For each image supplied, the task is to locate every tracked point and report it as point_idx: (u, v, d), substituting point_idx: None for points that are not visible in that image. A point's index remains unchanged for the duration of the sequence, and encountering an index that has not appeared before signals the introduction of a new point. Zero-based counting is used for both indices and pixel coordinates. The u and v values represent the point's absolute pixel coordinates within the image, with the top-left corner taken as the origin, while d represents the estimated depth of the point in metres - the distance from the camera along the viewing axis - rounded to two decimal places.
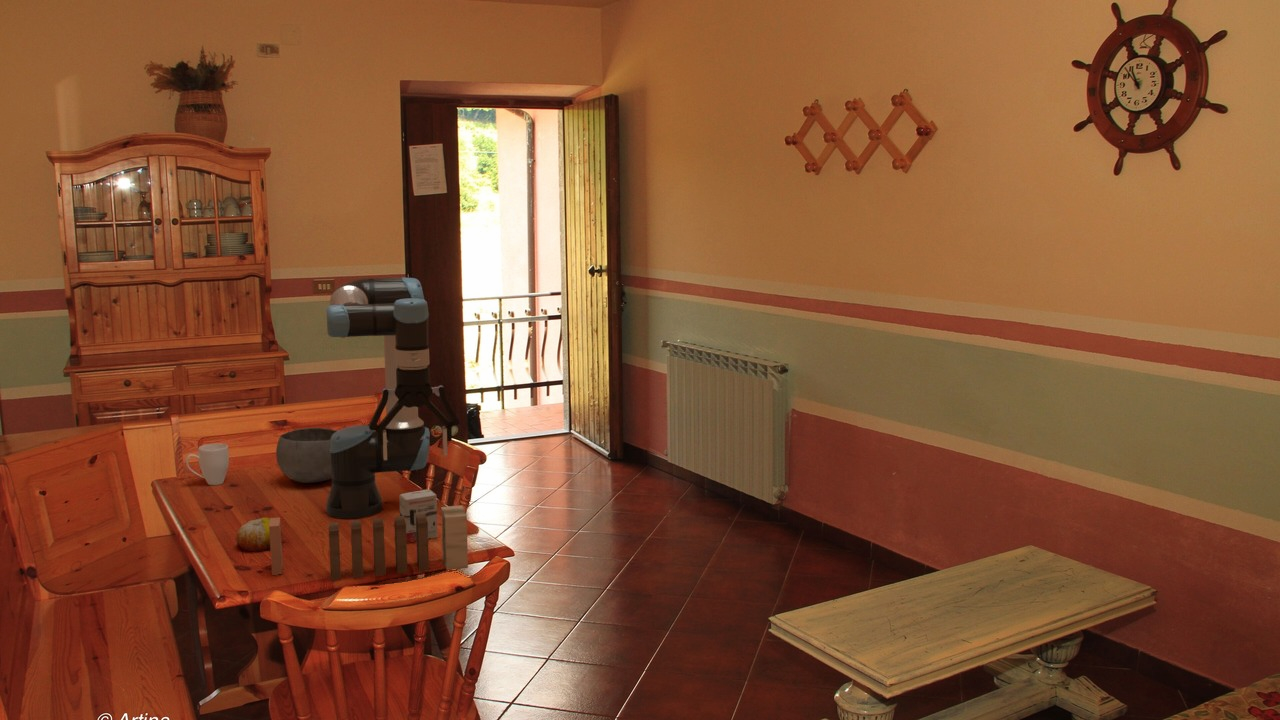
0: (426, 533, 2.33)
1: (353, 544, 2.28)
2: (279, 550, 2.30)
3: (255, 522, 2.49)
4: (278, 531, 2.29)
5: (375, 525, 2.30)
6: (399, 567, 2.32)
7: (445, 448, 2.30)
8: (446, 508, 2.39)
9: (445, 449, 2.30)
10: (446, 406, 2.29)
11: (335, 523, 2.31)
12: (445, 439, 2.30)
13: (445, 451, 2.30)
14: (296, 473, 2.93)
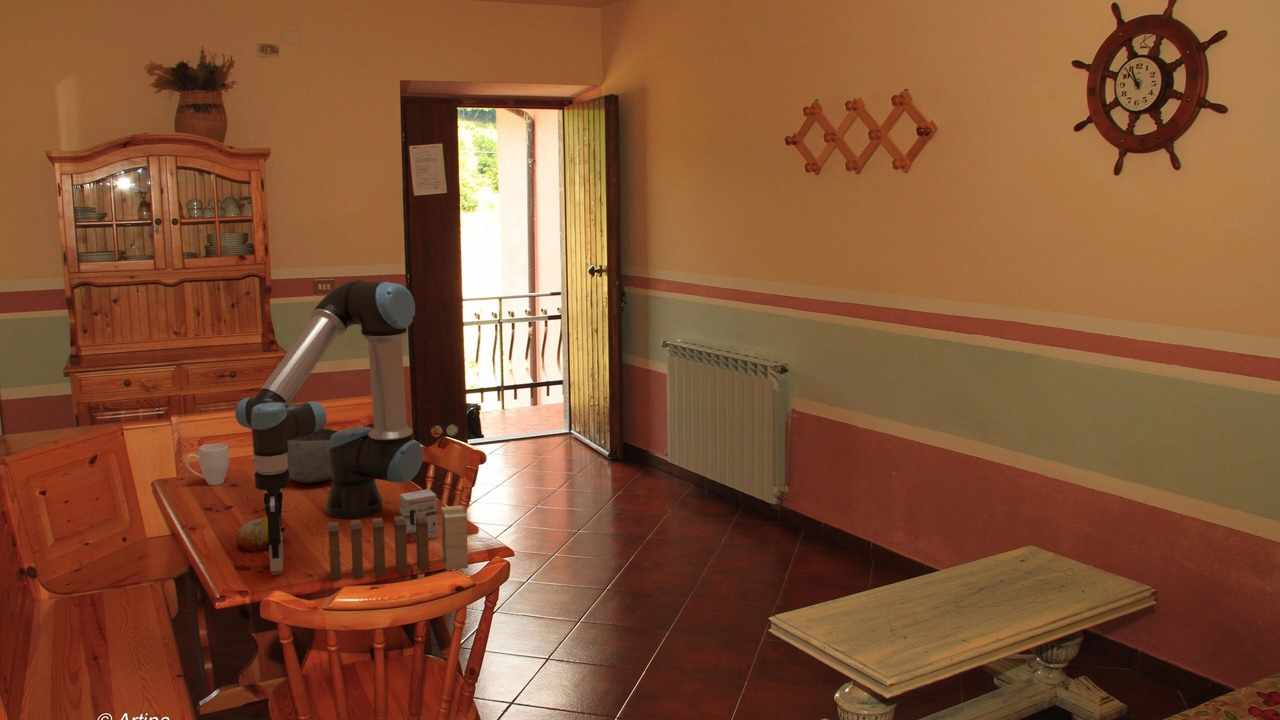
0: (426, 533, 2.33)
1: (353, 544, 2.28)
2: None
3: (255, 522, 2.49)
4: None
5: (375, 525, 2.30)
6: (399, 567, 2.32)
7: (270, 563, 2.29)
8: (446, 508, 2.39)
9: (270, 564, 2.29)
10: None
11: (335, 523, 2.31)
12: None
13: (270, 566, 2.29)
14: (296, 473, 2.93)
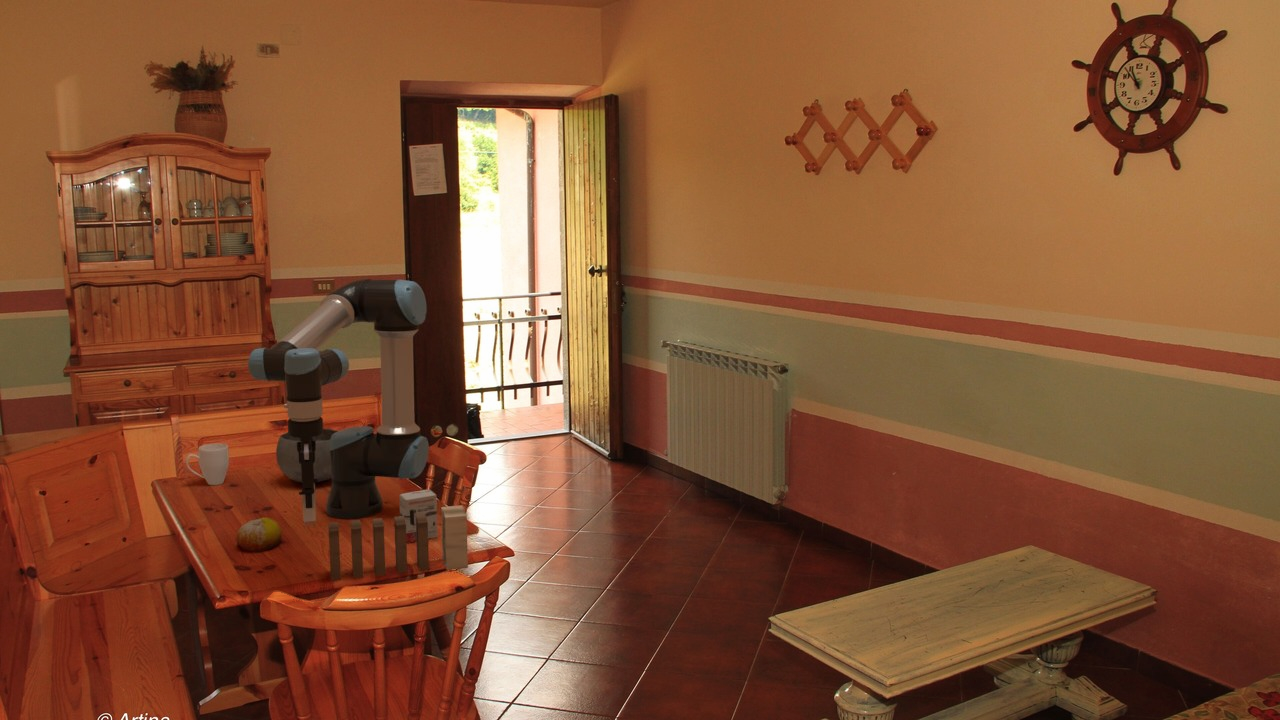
0: (426, 533, 2.33)
1: (353, 544, 2.28)
2: None
3: (255, 522, 2.49)
4: None
5: (375, 525, 2.30)
6: (399, 567, 2.32)
7: (303, 513, 2.23)
8: (446, 508, 2.39)
9: (303, 514, 2.23)
10: None
11: (335, 523, 2.31)
12: None
13: (303, 516, 2.23)
14: (296, 473, 2.93)
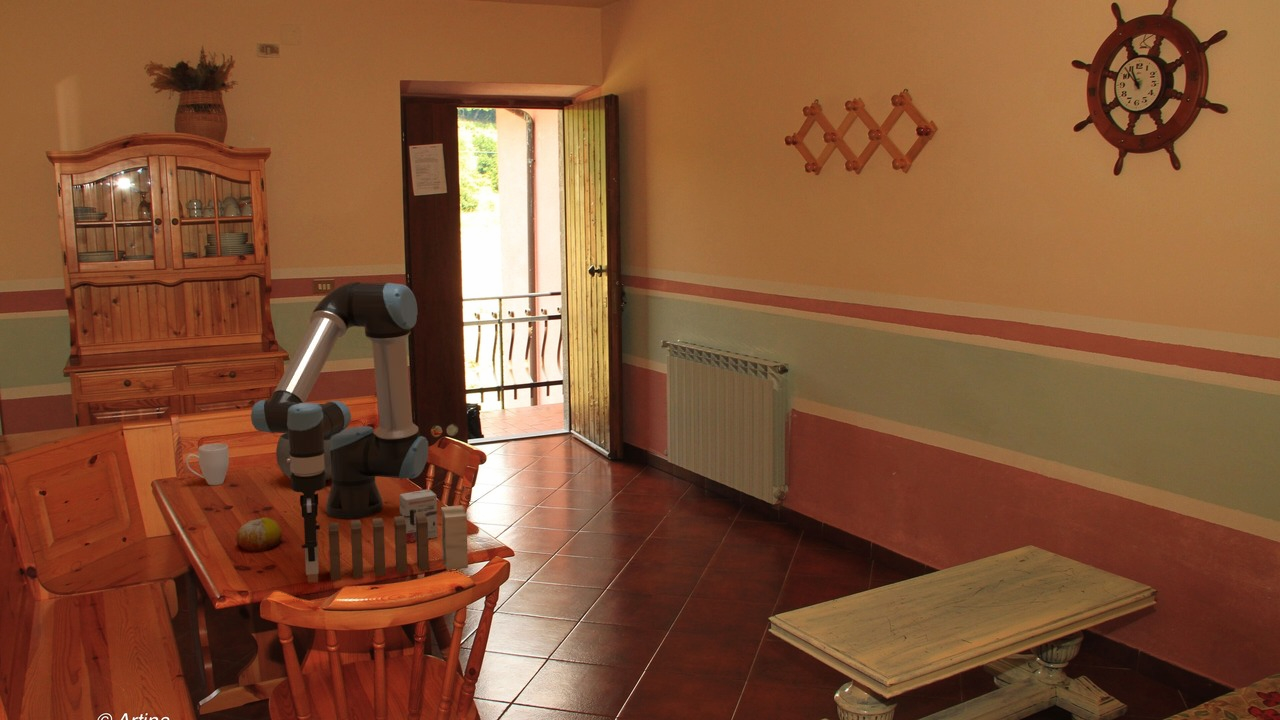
0: (426, 533, 2.33)
1: (353, 544, 2.28)
2: None
3: (255, 522, 2.49)
4: None
5: (375, 525, 2.30)
6: (399, 567, 2.32)
7: None
8: (446, 508, 2.39)
9: None
10: (304, 524, 2.20)
11: (335, 523, 2.31)
12: (305, 557, 2.23)
13: None
14: None
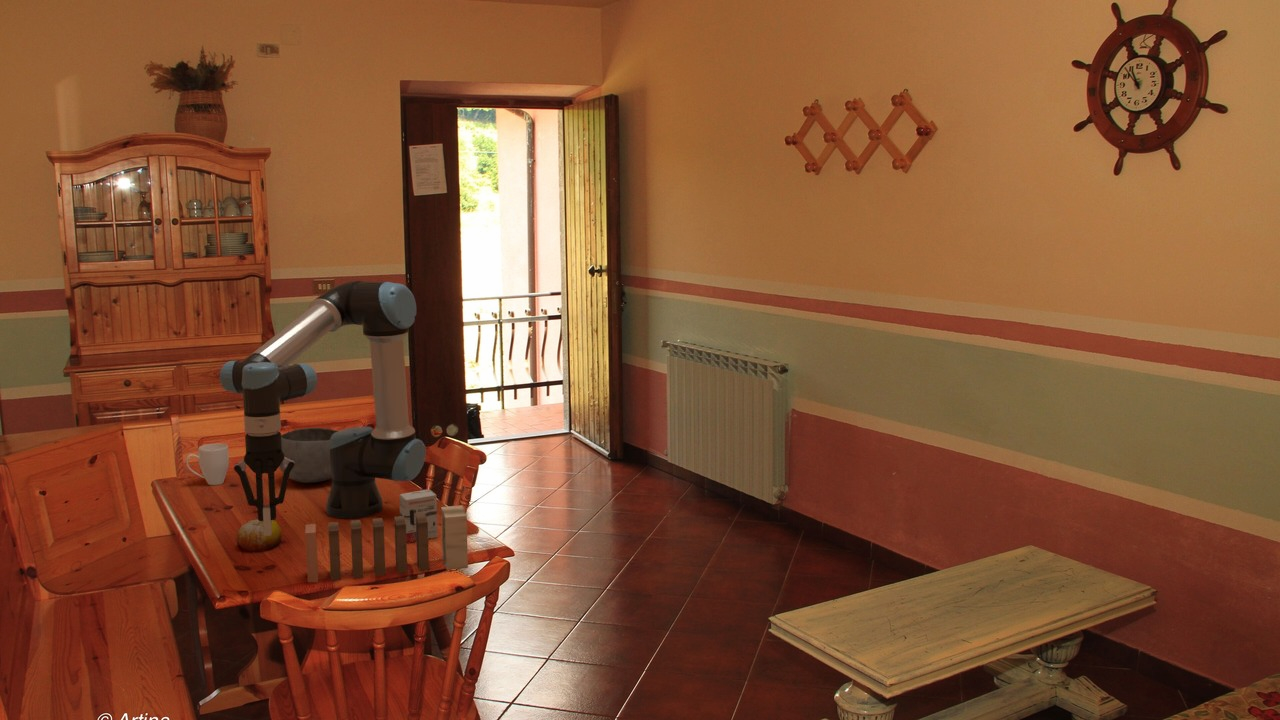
0: (426, 533, 2.33)
1: (353, 544, 2.28)
2: (315, 557, 2.26)
3: (255, 522, 2.49)
4: (314, 538, 2.25)
5: (375, 525, 2.30)
6: (399, 567, 2.32)
7: (268, 527, 2.23)
8: (446, 508, 2.39)
9: (268, 528, 2.23)
10: (283, 481, 2.22)
11: (335, 523, 2.31)
12: (268, 518, 2.22)
13: (268, 531, 2.23)
14: (296, 473, 2.93)
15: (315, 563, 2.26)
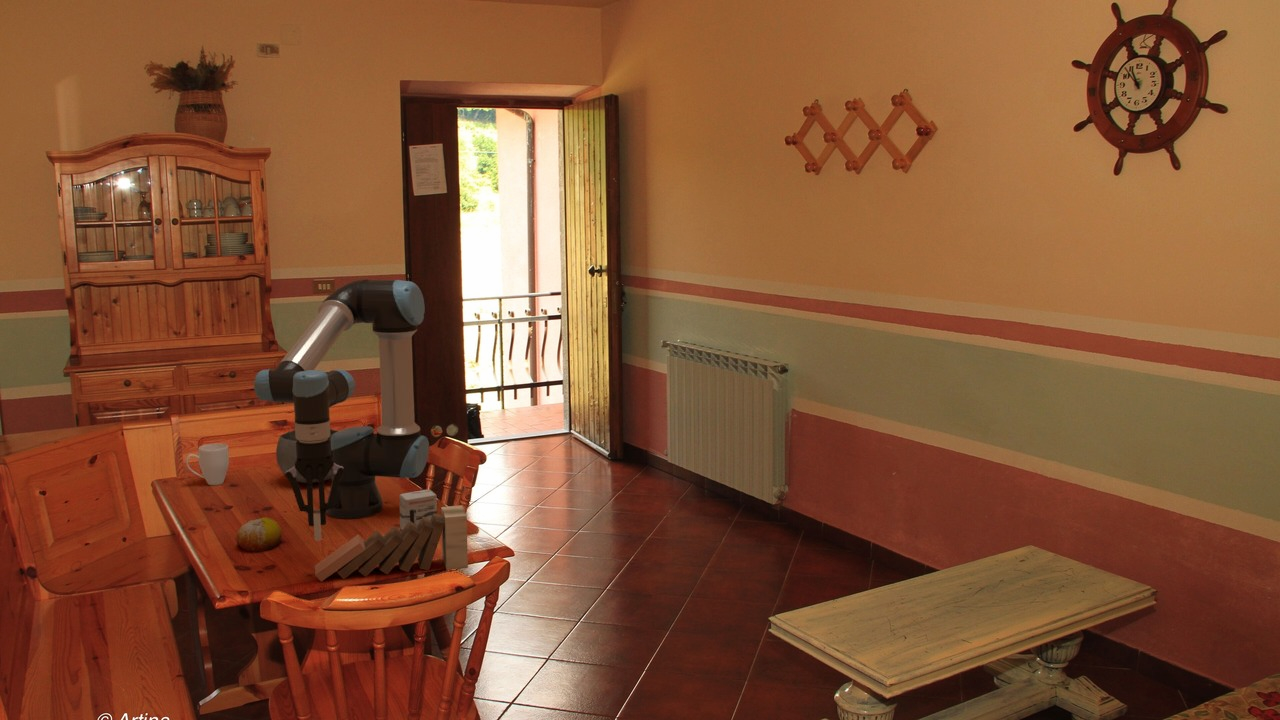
0: (440, 533, 2.34)
1: (385, 546, 2.30)
2: (342, 565, 2.28)
3: (255, 522, 2.49)
4: (359, 552, 2.29)
5: (413, 528, 2.32)
6: (404, 564, 2.32)
7: (319, 532, 2.27)
8: (446, 508, 2.39)
9: (319, 533, 2.27)
10: (333, 487, 2.26)
11: (381, 536, 2.35)
12: (319, 523, 2.26)
13: (319, 535, 2.27)
14: None
15: (337, 568, 2.28)
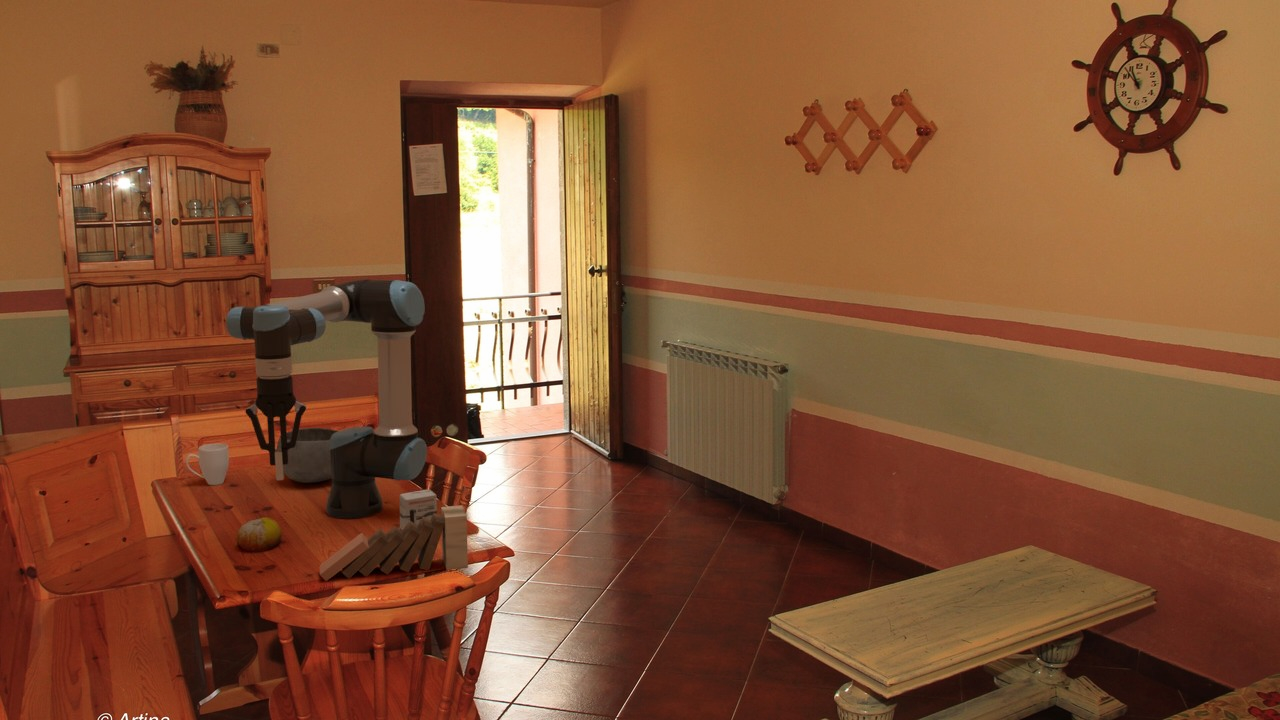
0: (440, 533, 2.34)
1: (386, 546, 2.30)
2: (346, 563, 2.28)
3: (255, 522, 2.49)
4: (363, 551, 2.29)
5: (413, 528, 2.32)
6: (404, 564, 2.32)
7: (280, 472, 2.22)
8: (446, 508, 2.39)
9: (280, 473, 2.22)
10: (295, 425, 2.21)
11: (384, 533, 2.35)
12: (280, 462, 2.21)
13: (281, 475, 2.22)
14: (296, 473, 2.93)
15: (341, 567, 2.28)
